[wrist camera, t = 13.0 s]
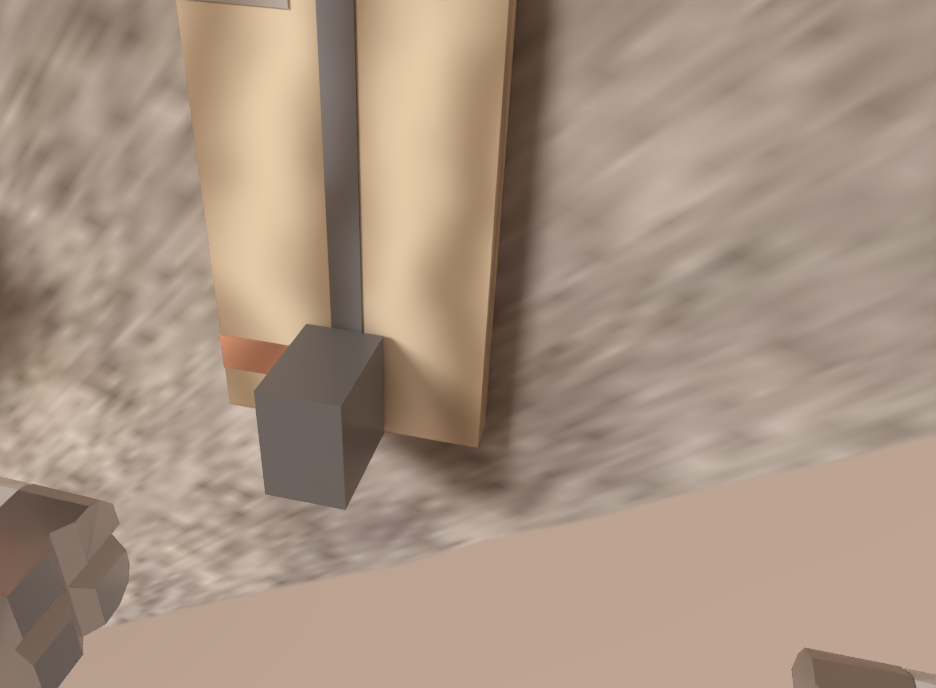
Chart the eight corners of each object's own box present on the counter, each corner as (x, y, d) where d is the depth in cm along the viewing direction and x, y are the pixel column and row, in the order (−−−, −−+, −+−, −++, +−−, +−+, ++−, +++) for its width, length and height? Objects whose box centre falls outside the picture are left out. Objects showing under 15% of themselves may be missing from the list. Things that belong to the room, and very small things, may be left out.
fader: (383, 336, 40) (340, 406, 35) (384, 432, 43) (345, 509, 38) (306, 323, 40) (253, 391, 35) (312, 419, 44) (265, 494, 39)
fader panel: (524, -94, 31) (514, -90, 29) (485, 425, 44) (477, 449, 43) (186, -118, 33) (159, -116, 31) (246, 383, 46) (229, 404, 45)
